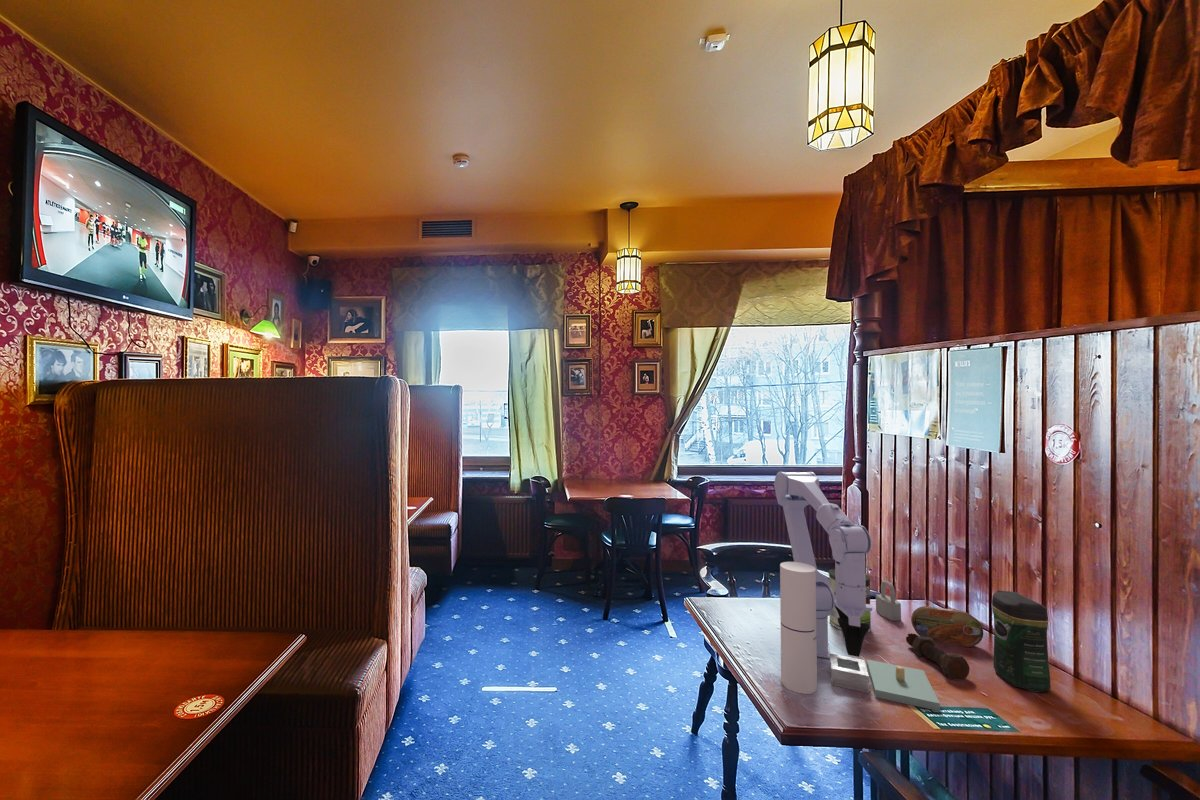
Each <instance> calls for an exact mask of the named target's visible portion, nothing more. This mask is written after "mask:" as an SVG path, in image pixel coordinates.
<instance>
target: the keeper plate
mask: <svg viewBox="0 0 1200 800" xmlns="http://www.w3.org/2000/svg"><path fill="white" fill-rule="evenodd" d="M866 668H867V671H868V675H869V680H870V683H871V686H872V690H873V693H874V694H873V695H874V698H879V699H882V700H888V701H891V702H896V703H901V704H904V705H905V704H906V705H910V706H916V707H919V708H925V709H928V710H932V711H938V712H941V704H940V703H941V702H940V701H939V699H938V697H937V695H936V692H935V691H934V689H933V687H932V684H931V683H930V681H929V679H928V677H927V674H926V673H925V671H924V669H923V670H922V669H917V668H913V667H908V666H902V665H896V664H892V663H888V662H882V661H876V660H871V659H866Z"/></svg>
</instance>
